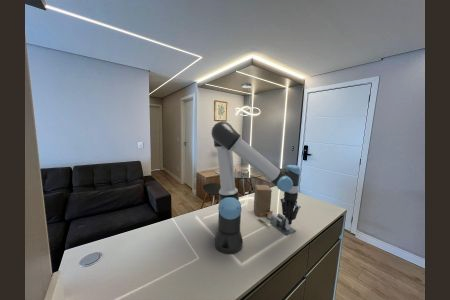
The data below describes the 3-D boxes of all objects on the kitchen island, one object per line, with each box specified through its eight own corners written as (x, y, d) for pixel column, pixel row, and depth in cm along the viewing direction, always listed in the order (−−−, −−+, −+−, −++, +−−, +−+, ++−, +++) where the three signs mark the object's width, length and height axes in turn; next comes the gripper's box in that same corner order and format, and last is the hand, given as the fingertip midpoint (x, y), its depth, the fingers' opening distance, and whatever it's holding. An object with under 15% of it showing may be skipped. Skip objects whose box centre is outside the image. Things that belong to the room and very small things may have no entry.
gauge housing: (279, 238, 95) (280, 229, 94) (256, 220, 112) (257, 213, 111) (295, 231, 101) (296, 223, 101) (271, 216, 119) (272, 209, 118)
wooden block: (269, 217, 117) (271, 189, 114) (255, 216, 117) (257, 189, 115) (266, 210, 127) (268, 184, 124) (253, 209, 127) (255, 184, 124)
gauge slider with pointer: (274, 232, 99) (274, 223, 98) (257, 219, 112) (257, 212, 111) (287, 227, 104) (287, 219, 103) (269, 215, 117) (270, 208, 116)
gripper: (305, 194, 95) (301, 232, 98) (286, 186, 106) (283, 221, 109) (296, 196, 91) (292, 236, 94) (278, 188, 102) (275, 224, 105)
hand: (287, 228), depth 101 cm, fingers closed
